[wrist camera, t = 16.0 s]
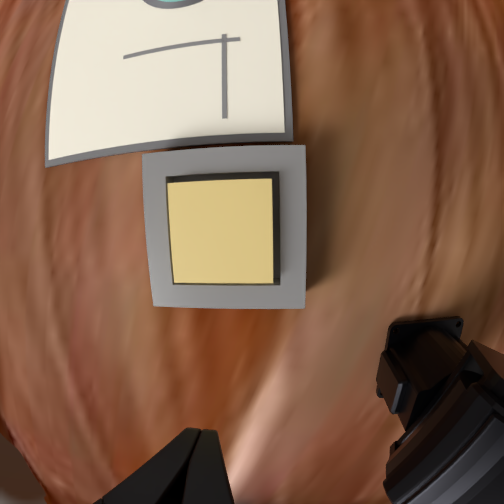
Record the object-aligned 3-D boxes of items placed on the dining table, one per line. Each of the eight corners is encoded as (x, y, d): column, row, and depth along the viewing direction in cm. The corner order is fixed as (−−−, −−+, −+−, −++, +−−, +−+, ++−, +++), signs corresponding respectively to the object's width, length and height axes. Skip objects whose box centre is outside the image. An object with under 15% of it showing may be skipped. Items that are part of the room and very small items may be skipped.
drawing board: (278, -61, 14) (277, -66, 13) (292, 141, 18) (293, 140, 17) (73, -17, 15) (70, -20, 14) (48, 167, 19) (42, 167, 18)
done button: (272, 179, 17) (271, 178, 15) (273, 271, 18) (273, 283, 16) (180, 183, 18) (167, 183, 15) (185, 271, 19) (174, 282, 17)
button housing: (301, 149, 18) (305, 145, 15) (301, 293, 20) (304, 308, 17) (157, 157, 18) (142, 154, 16) (166, 293, 20) (153, 306, 18)
